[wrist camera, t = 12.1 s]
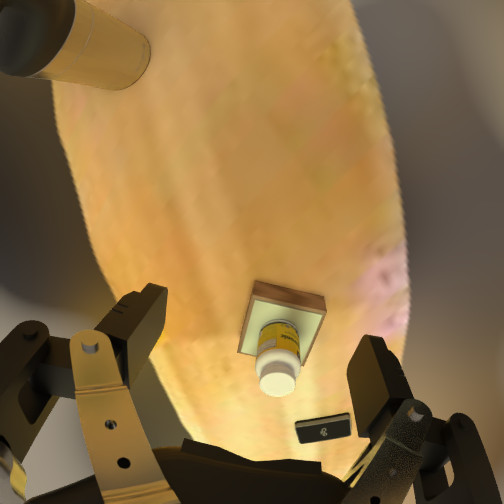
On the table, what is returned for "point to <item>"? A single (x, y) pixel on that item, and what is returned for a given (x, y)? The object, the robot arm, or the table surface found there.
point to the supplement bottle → (278, 358)
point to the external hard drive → (323, 428)
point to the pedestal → (282, 316)
